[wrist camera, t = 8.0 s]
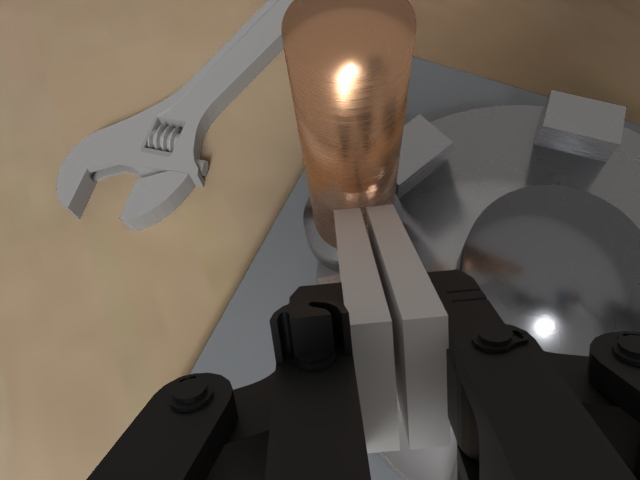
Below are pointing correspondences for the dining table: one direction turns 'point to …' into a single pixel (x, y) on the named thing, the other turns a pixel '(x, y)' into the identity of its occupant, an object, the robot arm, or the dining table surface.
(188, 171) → the adjustable wrench
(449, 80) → the base plate
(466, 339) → the robot arm
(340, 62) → the metal rotary base
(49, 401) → the dining table surface
